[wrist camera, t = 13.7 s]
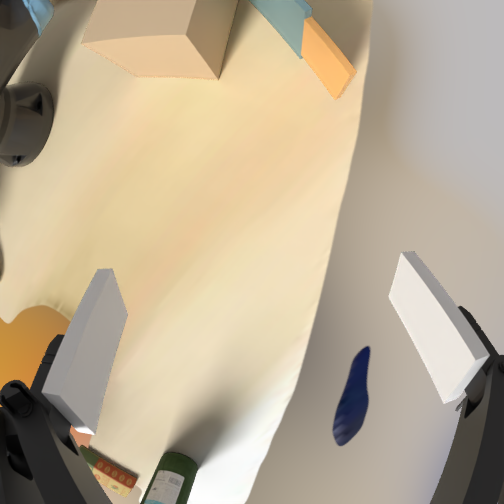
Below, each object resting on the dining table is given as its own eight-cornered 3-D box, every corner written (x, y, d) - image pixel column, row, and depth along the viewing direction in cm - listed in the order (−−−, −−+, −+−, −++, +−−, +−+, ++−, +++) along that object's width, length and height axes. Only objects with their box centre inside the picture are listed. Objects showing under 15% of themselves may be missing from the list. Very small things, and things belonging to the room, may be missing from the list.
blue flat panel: (333, 103, 33) (353, 69, 21) (240, -9, 30) (224, -61, 18) (338, 100, 33) (360, 66, 21) (245, -11, 30) (230, -64, 18)
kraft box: (137, 77, 36) (80, 43, 22) (161, -1, 32) (121, -49, 19) (218, 80, 35) (185, 34, 21) (239, -2, 32) (220, -62, 18)
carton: (131, 487, 57) (125, 498, 53) (78, 456, 57) (71, 466, 53) (138, 477, 55) (132, 489, 51) (81, 443, 55) (73, 454, 51)
